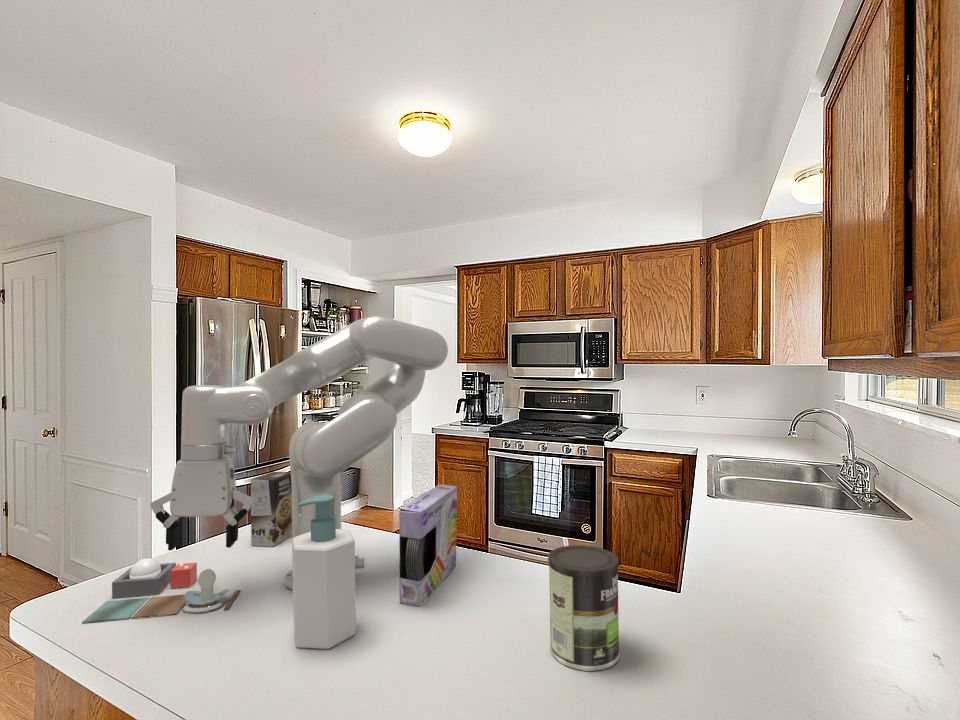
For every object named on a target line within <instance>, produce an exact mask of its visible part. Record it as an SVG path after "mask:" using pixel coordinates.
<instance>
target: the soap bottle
mask: <svg viewBox="0 0 960 720" xmlns="http://www.w3.org/2000/svg"><path fill="white" fill-rule="evenodd" d="M334 500H335V497H334V496H333V495H326V494H325V495H318V496H314V497H311V498H309V499H306V500H303V501H302V502H300V503H299V506H305V505H309V504H316V517H315V518H313V519H311V532H309V533H305V534H302V535H299V536H296V537H294V538H293V539H292V538H291V539H292V540H291V541H293V558H292V569H293V590H292V597H293V598H292V599H293V600H292V601H293V602H292V603H293V606H292V607H293V635H294V645H295V647H296V648H300V649H301V648H302V649H317V650H318V649H321V650H330V649H331V648H333V647H335V646H337V645H338V644H340V643H342V642H344V641H346V640H348V639H349V638H351V637H353V636H355V635H356V633H357V623H356V622H357V617H356V616H357V615H356V609H357V608H356V569H355V556H356V552H355V551H356V546H355V544H356V541H355V538H354V536H353V534H352V532H351V531H350V530H349V529H347V528H346V529H344V528H343V529H342V528H341V529H336V521H335V517H334V516H330V502H332V501H334Z"/></svg>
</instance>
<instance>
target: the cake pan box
mask: <svg viewBox="0 0 960 720" xmlns="http://www.w3.org/2000/svg"><path fill="white" fill-rule="evenodd" d="M457 509H458V486H457V485H449V484H443V483H442V484H441V483H440V484H436V486H435V487H432V488H431V489H430V490H428V491H426V492H423V493H421V494H420V495H418V496H417V497H416V498H415V499H413V500H411V501H409V502H408V503H407V504H405V505H403V506H402V507H400V508H399V510H398V511H399V512H398V513H399V514H398V516H399V523H398V525H399V531H398V532H399V535H398V536H399V548H398V549H399V556H398V557H399V561H398V562H399V563H398V564H399V565H398V566H399V567H398V568H399V569H398V570H399V571H398V572H399V573H398V575H399V576H398V580H399V581H398V582H399V583H398V584H399V591H398V592H399V601H398V602H399V604H401V605H405V606H412V607H419V608H420V607H422V606H423V605H424V603H425V602H427V600H428V599H429V597H430V596H431V595H433V593H434V592H435V591H436V590H437V589H438V588H439V586H440V585H441V584H442V583H443V582H444V580H446V579H447V578H448V576H449V575H450V574H451V573H452V572H453V571H454V569H455V568H456V567H457V516H458V514H457V513H458V511H457Z"/></svg>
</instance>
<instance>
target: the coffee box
mask: <svg viewBox="0 0 960 720" xmlns="http://www.w3.org/2000/svg"><path fill="white" fill-rule="evenodd" d="M250 497H252V498H254V503H253V504H252V506H251V508H250V545H251V546H255V547H256V546H257V547H267V548H274V547H276V546H277V545H279V544H280V543H282V542H284V541H286V540H288V539H289V538H292V484H291V471H278V472H277V471H272V472H269V473H266V474H262V475H260V476H257V477H254V478H251V479H250Z"/></svg>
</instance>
